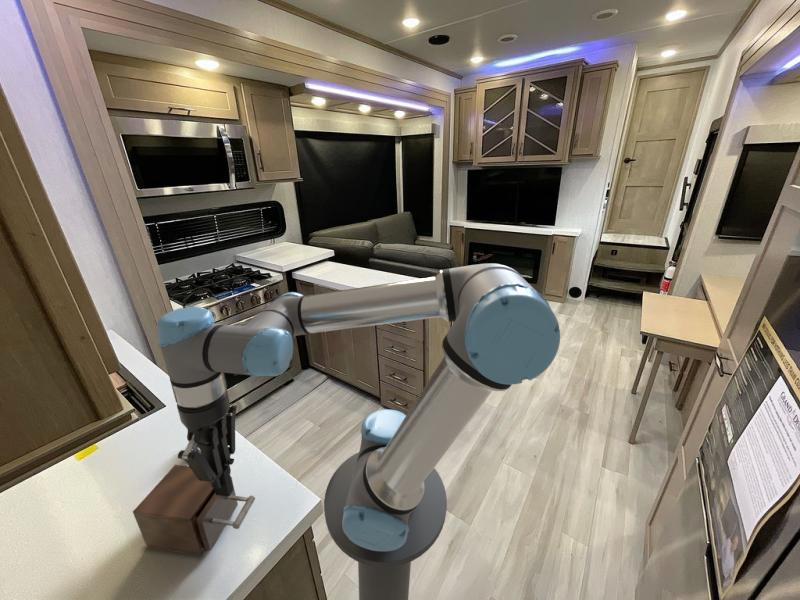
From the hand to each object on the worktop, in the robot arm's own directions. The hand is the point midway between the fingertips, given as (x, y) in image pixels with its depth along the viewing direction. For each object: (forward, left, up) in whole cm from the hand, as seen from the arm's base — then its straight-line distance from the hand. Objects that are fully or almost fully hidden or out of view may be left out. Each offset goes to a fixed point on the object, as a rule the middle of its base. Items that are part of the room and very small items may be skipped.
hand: (224, 492), depth 63 cm
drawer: (+4, 0, -11) cm, 11 cm away
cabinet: (+9, 0, -11) cm, 15 cm away
